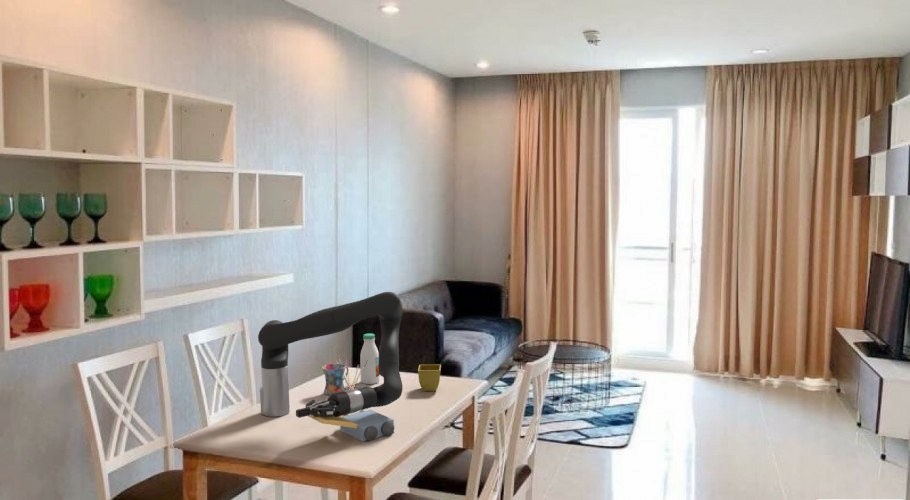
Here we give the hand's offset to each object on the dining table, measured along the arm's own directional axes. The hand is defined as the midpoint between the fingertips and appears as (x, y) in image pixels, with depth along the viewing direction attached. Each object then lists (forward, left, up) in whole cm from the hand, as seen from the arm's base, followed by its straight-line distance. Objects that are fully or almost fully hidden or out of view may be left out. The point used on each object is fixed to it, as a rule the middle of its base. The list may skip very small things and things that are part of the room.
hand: (297, 414), depth 223 cm
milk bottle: (-3, +76, -12) cm, 77 cm away
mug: (-11, +60, -12) cm, 62 cm away
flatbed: (+15, +20, -11) cm, 27 cm away
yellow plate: (+11, +14, -6) cm, 19 cm away
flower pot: (+24, +70, -12) cm, 75 cm away
